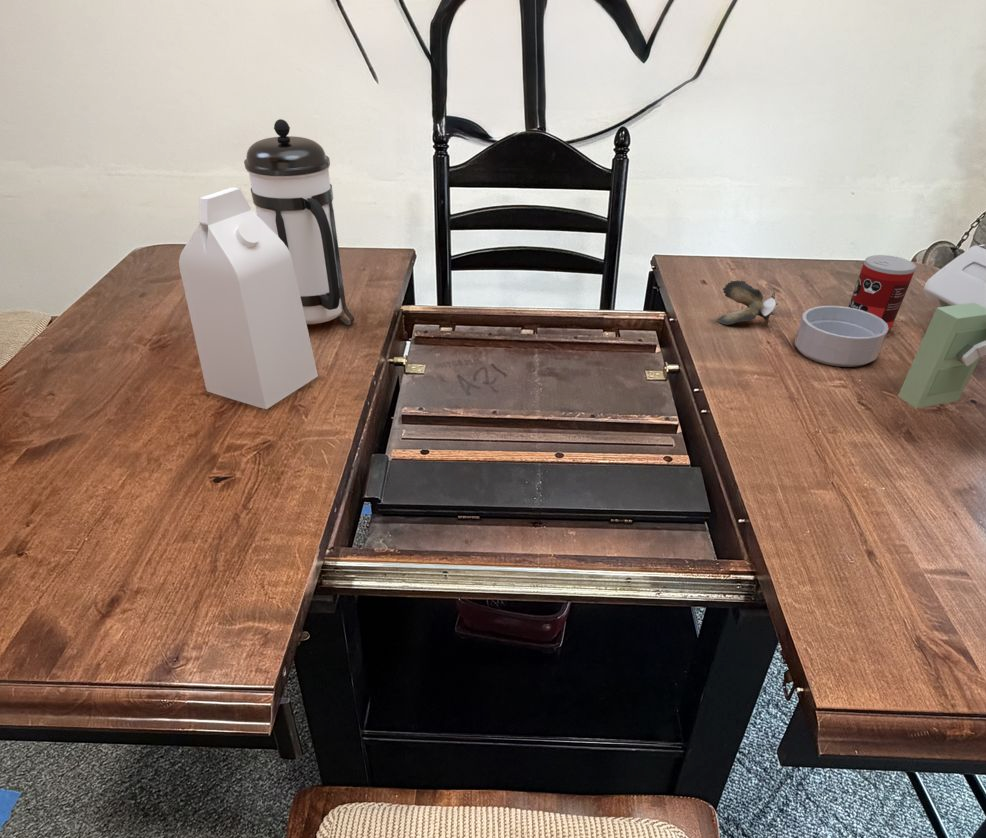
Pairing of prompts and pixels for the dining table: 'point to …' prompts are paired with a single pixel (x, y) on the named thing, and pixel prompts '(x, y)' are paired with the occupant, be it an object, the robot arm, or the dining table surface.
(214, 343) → the milk
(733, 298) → the eagle figurine
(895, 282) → the canned food
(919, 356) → the toy door
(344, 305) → the coffee press
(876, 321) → the bowl
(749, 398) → the dining table surface
